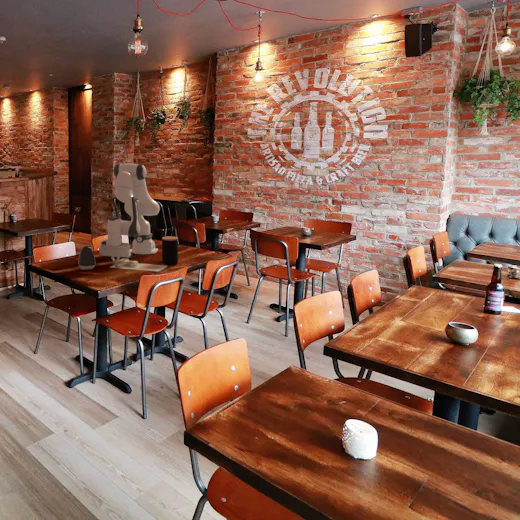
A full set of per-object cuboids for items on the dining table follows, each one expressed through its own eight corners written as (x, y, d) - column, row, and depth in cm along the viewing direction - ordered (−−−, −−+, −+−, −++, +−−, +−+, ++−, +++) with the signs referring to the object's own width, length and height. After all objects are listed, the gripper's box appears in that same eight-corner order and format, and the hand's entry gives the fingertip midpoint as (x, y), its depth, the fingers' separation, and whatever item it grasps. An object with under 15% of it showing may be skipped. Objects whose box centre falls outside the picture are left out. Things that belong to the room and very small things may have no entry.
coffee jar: (172, 261, 322) (172, 235, 318) (181, 264, 314) (181, 238, 310) (159, 263, 314) (158, 237, 310) (167, 266, 307) (167, 239, 303)
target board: (120, 263, 309) (120, 261, 309) (167, 267, 304) (167, 265, 304) (109, 269, 294) (109, 267, 294) (158, 273, 289) (158, 271, 289)
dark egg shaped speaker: (98, 268, 295) (97, 244, 292) (91, 272, 285) (90, 247, 282) (83, 267, 296) (82, 243, 293) (75, 271, 286) (74, 246, 283)
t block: (114, 267, 295) (114, 262, 294) (123, 262, 307) (123, 258, 306) (132, 268, 293) (132, 263, 293) (140, 264, 305) (140, 259, 304)
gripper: (132, 242, 299) (132, 263, 302) (102, 240, 302) (103, 260, 306) (127, 244, 293) (128, 265, 296) (97, 241, 296) (98, 262, 299)
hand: (115, 262), depth 301 cm, fingers closed
